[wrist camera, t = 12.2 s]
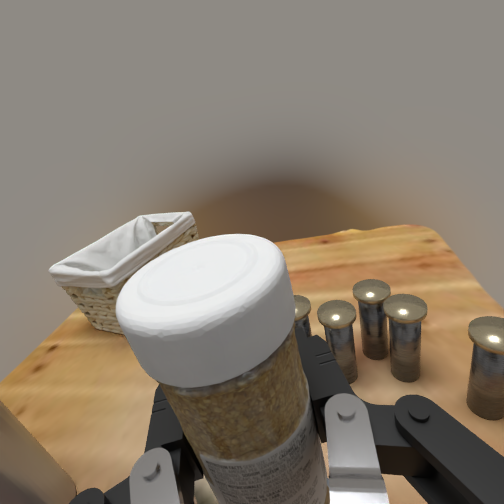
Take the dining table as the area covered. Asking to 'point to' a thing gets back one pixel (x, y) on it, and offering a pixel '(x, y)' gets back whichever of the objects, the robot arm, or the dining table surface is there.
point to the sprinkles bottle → (230, 365)
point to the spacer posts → (407, 340)
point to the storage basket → (119, 263)
